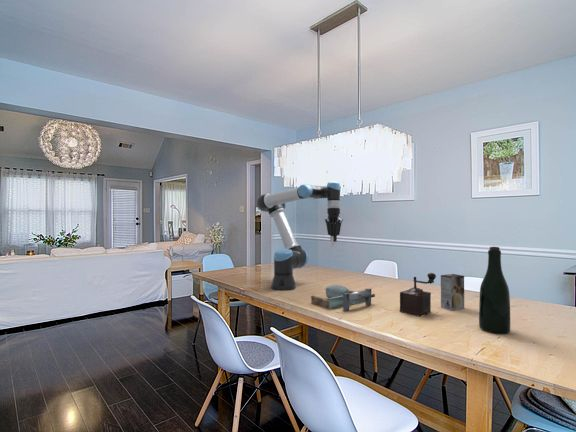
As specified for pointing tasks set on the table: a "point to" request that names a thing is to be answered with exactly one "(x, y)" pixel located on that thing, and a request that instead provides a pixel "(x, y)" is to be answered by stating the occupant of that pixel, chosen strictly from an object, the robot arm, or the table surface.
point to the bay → (333, 301)
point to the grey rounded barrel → (335, 291)
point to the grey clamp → (355, 296)
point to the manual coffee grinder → (416, 299)
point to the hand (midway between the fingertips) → (333, 246)
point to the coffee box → (452, 292)
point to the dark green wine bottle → (494, 297)
